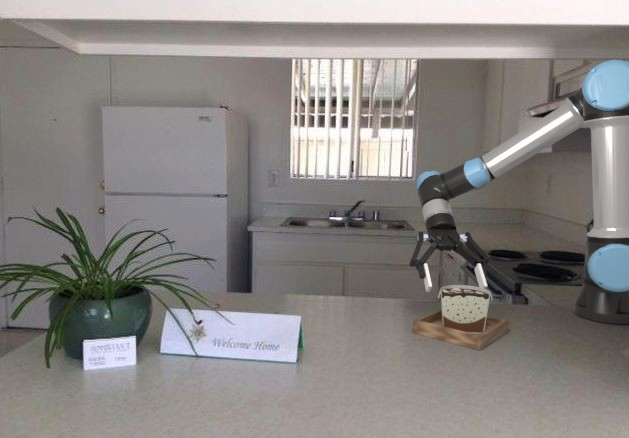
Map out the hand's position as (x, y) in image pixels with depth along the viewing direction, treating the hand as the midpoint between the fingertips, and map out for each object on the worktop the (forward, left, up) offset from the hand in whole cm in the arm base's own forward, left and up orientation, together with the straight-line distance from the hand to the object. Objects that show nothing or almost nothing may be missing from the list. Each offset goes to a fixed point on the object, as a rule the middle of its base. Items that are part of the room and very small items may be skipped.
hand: (456, 289), depth 121 cm
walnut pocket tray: (-2, +1, -10) cm, 10 cm away
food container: (-2, +2, -9) cm, 9 cm away
